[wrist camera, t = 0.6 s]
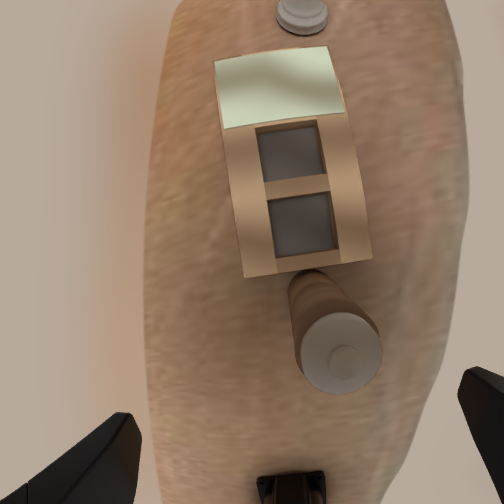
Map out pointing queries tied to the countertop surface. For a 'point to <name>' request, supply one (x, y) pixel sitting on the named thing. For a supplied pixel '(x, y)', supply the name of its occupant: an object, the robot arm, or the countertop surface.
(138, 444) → the robot arm
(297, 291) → the pepper mill
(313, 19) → the rook chess piece
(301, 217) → the board
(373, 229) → the countertop surface
